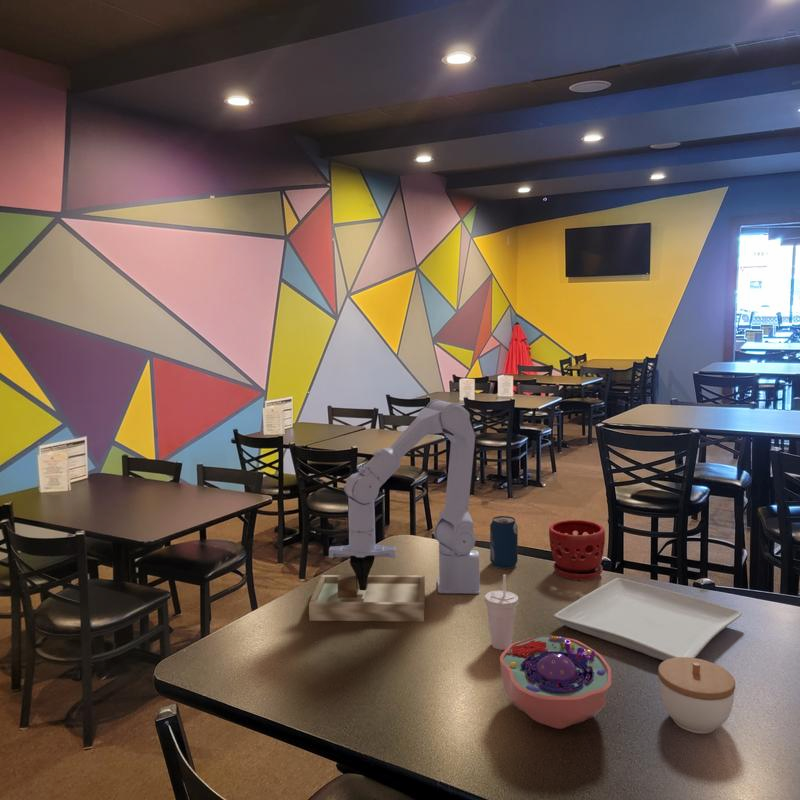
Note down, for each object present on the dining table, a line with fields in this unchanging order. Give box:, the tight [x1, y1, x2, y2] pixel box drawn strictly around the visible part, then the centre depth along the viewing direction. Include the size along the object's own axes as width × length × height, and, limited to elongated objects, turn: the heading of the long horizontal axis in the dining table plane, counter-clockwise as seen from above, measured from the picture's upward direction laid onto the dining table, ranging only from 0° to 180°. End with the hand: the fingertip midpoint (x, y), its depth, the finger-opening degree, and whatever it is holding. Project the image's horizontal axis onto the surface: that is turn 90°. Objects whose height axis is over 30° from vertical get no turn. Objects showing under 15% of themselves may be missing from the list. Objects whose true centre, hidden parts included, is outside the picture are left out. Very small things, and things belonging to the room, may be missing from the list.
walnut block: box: [337, 572, 358, 598], centre depth 146 cm, size 4×4×4 cm
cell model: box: [499, 635, 612, 729], centre depth 104 cm, size 17×20×11 cm
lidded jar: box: [657, 657, 736, 735], centre depth 101 cm, size 11×11×9 cm
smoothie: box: [484, 573, 519, 651], centre depth 126 cm, size 6×6×14 cm
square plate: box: [553, 577, 743, 662], centre depth 133 cm, size 27×27×4 cm
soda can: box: [489, 515, 519, 570], centre depth 169 cm, size 7×7×12 cm
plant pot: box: [548, 519, 606, 581], centre depth 162 cm, size 13×13×12 cm
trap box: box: [308, 574, 426, 622], centre depth 146 cm, size 24×16×4 cm, turn 87°
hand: (363, 588), depth 146 cm, fingers closed
